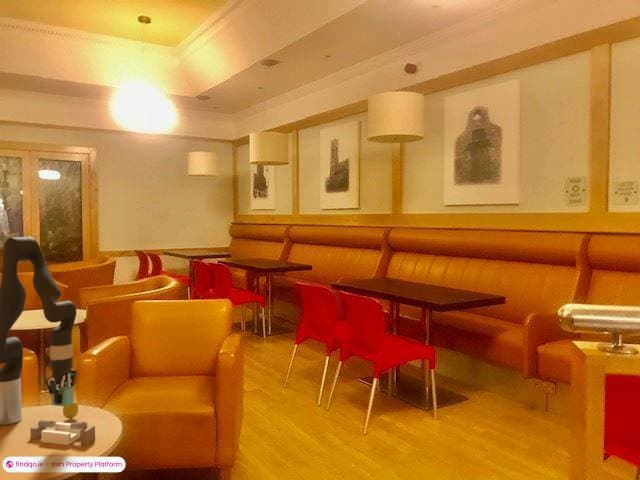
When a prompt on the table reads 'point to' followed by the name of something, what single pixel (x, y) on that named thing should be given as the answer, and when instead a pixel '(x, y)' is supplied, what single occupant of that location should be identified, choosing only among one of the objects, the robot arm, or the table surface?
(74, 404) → the lemon
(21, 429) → the table surface
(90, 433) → the shaft rig
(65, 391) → the green rectangular block
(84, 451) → the table surface
